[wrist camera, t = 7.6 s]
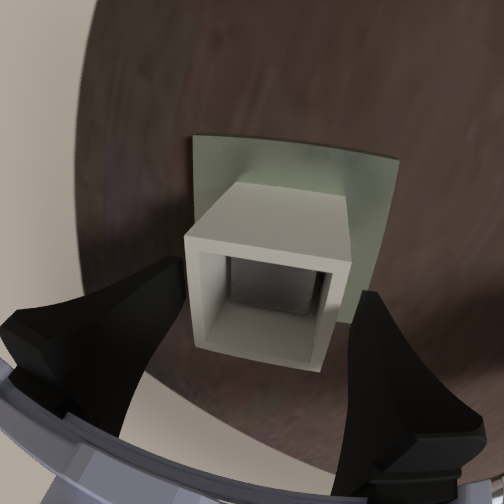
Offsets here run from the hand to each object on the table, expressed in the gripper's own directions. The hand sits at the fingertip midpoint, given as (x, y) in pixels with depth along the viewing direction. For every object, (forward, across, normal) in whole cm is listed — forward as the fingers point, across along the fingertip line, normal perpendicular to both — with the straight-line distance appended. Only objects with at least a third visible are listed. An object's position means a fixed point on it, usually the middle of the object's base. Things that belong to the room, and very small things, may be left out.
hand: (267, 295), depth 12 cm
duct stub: (+6, 0, 0) cm, 6 cm away
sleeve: (+5, 0, 0) cm, 5 cm away
